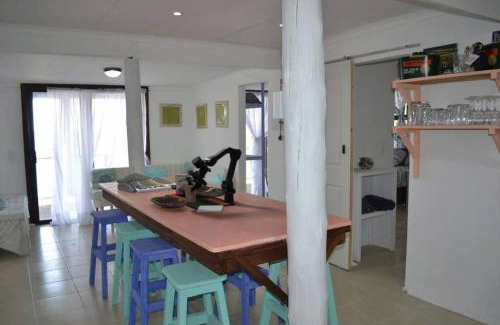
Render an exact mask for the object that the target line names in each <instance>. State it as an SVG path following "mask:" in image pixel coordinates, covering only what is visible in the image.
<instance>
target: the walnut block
mask: <svg viewBox="0 0 500 325" xmlns="http://www.w3.org/2000/svg"><path fill="white" fill-rule="evenodd" d="M192 188H193V185H189V186H185V202H189V203H192V202H197V190H195V191H193V192H191V189H192Z"/></svg>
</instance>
